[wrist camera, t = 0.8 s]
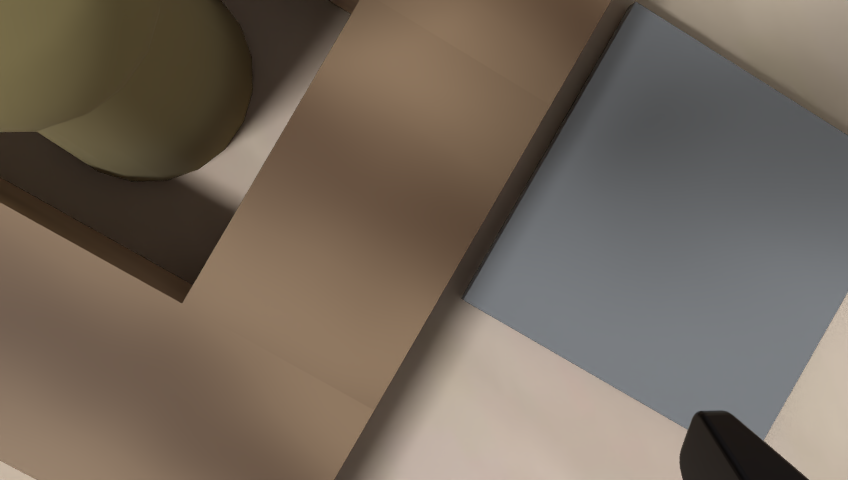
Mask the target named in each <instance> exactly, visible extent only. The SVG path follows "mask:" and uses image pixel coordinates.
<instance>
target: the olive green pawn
mask: <svg viewBox="0 0 848 480" xmlns="http://www.w3.org/2000/svg"><path fill="white" fill-rule="evenodd" d="M252 91H253V84H252V57H251V54H250V51H249V49H248V46H247V43H246V40H245V38H244V35H243V32H242V29H241V27H240V25H239V23H238V22H237V21H236V19H235V18H234V17H233V16H232V14H231V13H230V12H229V10H228V9H227V8H226V7H225V5H224V4H223V3H222V1H221V0H0V132H38V133H40V134H41V135H43V136H44V137H46V138H47V139H49V140H50V141H52V142H53V143H55V144H57V145H58V146H60V147H61V148H63V149H64V150H66V151H67V152H69V153H71V154H72V155H74V156H75V157H77V158H78V159H80V160H81V161H83V162H84V163H86V164H88V165H89V166H91V167H92V168H94V169H95V170H97V171H98V172H101V173H105V174H108V175H112V176H115V177H119V178H122V179H126V180H129V181H164V180H169V179H172V178H175V177H178V176H180V175H183V174H186V173H189V172H192V171H195V170H198V169H199V168H201V167H202V166H203V165H205V164H206V163H207V162H208V161H210V160H211V159H212V158H214V157H215V156H216V155H218V154H219V153H220V152H222V151H223V150H224V149H225V148H226V147H227V145H228V144H229V142H230V141H231V139H232V138H233V136H234V135H235V134H236V132H237V131H238V129H239V128H240V126H241V125H242V123H243V122H244V118H245V115H246V112H247V108H248V105H249V101H250V98H251V94H252Z"/></svg>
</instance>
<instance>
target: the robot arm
mask: <svg viewBox="0 0 848 480" xmlns="http://www.w3.org/2000/svg"><path fill="white" fill-rule="evenodd" d="M680 470H681V474H682V479H683V480H809V479H808V478H806V477H805V476H804V475H803V474H802V473H801V472H799V471H798V470H797V469H796V468H795V467H794V466H792V465H791V464H790V463H789V462H788V461H787V460H785V459H784V458H783V457H782V456H781V455H780V454H778V453H777V452H776V451H775V450H774V449H773V448H771V447H770V446H769V445H768V444H767V443H766V442H764V441H763V440H762V439H761V438H760V437H758V436H757V435H756V434H755V433H754V432H753V431H751V430H750V429H749V428H748V427H747V426H746V425H744V424H743V423H742V422H741V421H740V420H739V419H737V418H736V417H735V416H734V415H733V414H731V413H729V412H727V411H723V410H713V411H698V412H697V413H695V414H694V415H693V417H692V420H691V422H690V425H689V428H688V431H687V434H686V437H685V440H684V442H683V445H682V448H681V452H680Z"/></svg>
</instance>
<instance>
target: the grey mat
mask: <svg viewBox="0 0 848 480" xmlns="http://www.w3.org/2000/svg"><path fill="white" fill-rule="evenodd" d="M847 292H848V135H846V134H845V133H843V132H842V131H840V130H838V129H837V128H835V127H834V126H832V125H830V124H829V123H827V122H826V121H824V120H823V119H821V118H819V117H818V116H816V115H815V114H813V113H811V112H810V111H808V110H807V109H805V108H803V107H802V106H800V105H799V104H797V103H796V102H794V101H792V100H791V99H789V98H788V97H786V96H784V95H783V94H781V93H780V92H778V91H777V90H775V89H773V88H772V87H770V86H769V85H767V84H765V83H764V82H762V81H761V80H759V79H758V78H756V77H754V76H753V75H751V74H750V73H748V72H746V71H745V70H743V69H742V68H740V67H739V66H737V65H735V64H734V63H732V62H731V61H729V60H727V59H726V58H724V57H723V56H721V55H720V54H718V53H716V52H715V51H713V50H712V49H710V48H708V47H707V46H705V45H704V44H702V43H701V42H699V41H697V40H696V39H694V38H693V37H691V36H689V35H688V34H686V33H685V32H683V31H682V30H680V29H678V28H677V27H675V26H674V25H672V24H670V23H669V22H667V21H666V20H664V19H662V18H661V17H659V16H658V15H656V14H655V13H653V12H651V11H650V10H648V9H647V8H645V7H643V6H642V5H640V4H639V3H637V2H635V3H633V4H632V5H631V6H630V7H629V9H628V10H627V12H626V14H625V15H624V17H623V19H622V21H621V22H620V24H619V26H618V28H617V29H616V31H615V33H614V34H613V36H612V38H611V40H610V41H609V43H608V45H607V47H606V48H605V50H604V52H603V54H602V55H601V57H600V59H599V60H598V62H597V64H596V66H595V67H594V69H593V71H592V73H591V74H590V76H589V78H588V79H587V81H586V83H585V85H584V86H583V88H582V90H581V92H580V93H579V95H578V97H577V99H576V100H575V102H574V104H573V105H572V107H571V109H570V111H569V112H568V114H567V116H566V118H565V119H564V121H563V123H562V124H561V126H560V128H559V130H558V131H557V133H556V135H555V137H554V138H553V140H552V142H551V143H550V145H549V147H548V149H547V150H546V152H545V154H544V156H543V157H542V159H541V161H540V163H539V164H538V166H537V168H536V169H535V171H534V173H533V175H532V176H531V178H530V180H529V182H528V183H527V185H526V187H525V188H524V190H523V192H522V194H521V195H520V197H519V199H518V201H517V202H516V204H515V206H514V208H513V209H512V211H511V213H510V214H509V216H508V218H507V220H506V221H505V223H504V225H503V227H502V228H501V230H500V232H499V233H498V235H497V237H496V239H495V240H494V242H493V244H492V246H491V247H490V249H489V251H488V253H487V254H486V256H485V258H484V259H483V261H482V263H481V265H480V266H479V268H478V270H477V272H476V273H475V275H474V277H473V278H472V280H471V282H470V284H469V285H468V287H467V289H466V291H465V292H464V294H463V296H462V298H461V299H462V300H464V301H466V302H467V303H469V304H471V305H473V306H474V307H476V308H478V309H480V310H481V311H483V312H485V313H486V314H488V315H490V316H492V317H493V318H495V319H497V320H499V321H500V322H502V323H504V324H506V325H507V326H509V327H511V328H512V329H514V330H516V331H518V332H519V333H521V334H523V335H525V336H526V337H528V338H530V339H532V340H533V341H535V342H537V343H538V344H540V345H542V346H544V347H545V348H547V349H549V350H551V351H552V352H554V353H556V354H558V355H559V356H561V357H563V358H564V359H566V360H568V361H570V362H571V363H573V364H575V365H577V366H578V367H580V368H582V369H584V370H585V371H587V372H589V373H590V374H592V375H594V376H596V377H597V378H599V379H601V380H603V381H604V382H606V383H608V384H610V385H611V386H613V387H615V388H616V389H618V390H620V391H622V392H623V393H625V394H627V395H629V396H630V397H632V398H634V399H636V400H637V401H639V402H641V403H642V404H644V405H646V406H648V407H649V408H651V409H653V410H655V411H656V412H658V413H660V414H662V415H663V416H665V417H667V418H668V419H670V420H672V421H674V422H675V423H677V424H679V425H681V426H682V427H684V428H686V429H688V428H689V425H690V422H691V420H692V417H693V415H694V414H695V413H697V412H698V411H713V410H723V411H727V412H729V413H731V414H733V415H734V416H735V417H736V418H737V419H739V420H740V421H741V422H742V423H743V424H744V425H746V426H747V427H748V428H749V429H750V430H751V431H753V432H754V433H755V434H756V435H757V436H758V437H760V438H761V439H762V440H764V439H765V437H766V435H767V433H768V431H769V430H770V428H771V426H772V424H773V423H774V421H775V419H776V417H777V416H778V414H779V412H780V410H781V409H782V407H783V405H784V403H785V402H786V400H787V398H788V396H789V394H790V393H791V391H792V389H793V387H794V386H795V384H796V382H797V380H798V379H799V377H800V375H801V373H802V372H803V370H804V368H805V366H806V365H807V363H808V361H809V359H810V358H811V356H812V354H813V352H814V350H815V349H816V347H817V345H818V343H819V342H820V340H821V338H822V336H823V335H824V333H825V331H826V329H827V328H828V326H829V324H830V322H831V321H832V319H833V317H834V315H835V313H836V312H837V310H838V308H839V306H840V305H841V303H842V301H843V299H844V298H845V296H846V294H847Z"/></svg>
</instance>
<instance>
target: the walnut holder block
mask: <svg viewBox="0 0 848 480" xmlns="http://www.w3.org/2000/svg"><path fill="white" fill-rule="evenodd" d="M329 1H330V2H332V3H334V4H335V5H337V6H339V7H340V8H342V9H344V10H345V11H347V12H348V13H350V14H351V16H350V17H349V19H348V21H347V23H346V24H345V26H344V28H343V29H342V31H341V33H340V35H339V36H338V38H337V40H336V41H335V43H334V45H333V47H332V48H331V50H330V52H329V53H328V55H327V57H326V58H325V60H324V62H323V64H322V65H321V67H320V69H319V70H318V72H317V74H316V76H315V77H314V79H313V81H312V82H311V84H310V86H309V88H308V89H307V91H306V93H305V94H304V96H303V98H302V99H301V101H300V103H299V105H298V106H297V108H296V110H295V111H294V113H293V115H292V117H291V118H290V120H289V122H288V123H287V125H286V127H285V129H284V130H283V132H282V134H281V135H280V137H279V139H278V141H277V142H276V144H275V146H274V147H273V149H272V151H271V152H270V154H269V156H268V158H267V159H266V161H265V163H264V164H263V166H262V168H261V170H260V171H259V173H258V175H257V176H256V178H255V180H254V182H253V183H252V185H251V187H250V188H249V190H248V192H247V194H246V195H245V197H244V199H243V200H242V202H241V204H240V205H239V207H238V209H237V211H236V212H235V214H234V216H233V217H232V219H231V221H230V223H229V224H228V226H227V228H226V229H225V231H224V233H223V235H222V236H221V238H220V240H219V241H218V243H217V245H216V246H215V248H214V250H213V252H212V253H211V255H210V257H209V258H208V260H207V262H206V264H205V265H204V267H203V269H202V270H201V272H200V274H199V276H198V277H197V279H196V281H195V282H194V284H193V285H192V284H190V283H188V282H186V281H185V280H183V279H181V278H179V277H177V276H176V275H174V274H172V273H170V272H168V271H167V270H165V269H163V268H161V267H159V266H158V265H156V264H154V263H152V262H150V261H149V260H147V259H145V258H143V257H142V256H140V255H138V254H136V253H134V252H133V251H131V250H129V249H127V248H125V247H124V246H122V245H120V244H118V243H116V242H115V241H113V240H111V239H109V238H108V237H106V236H104V235H102V234H100V233H99V232H97V231H95V230H93V229H91V228H90V227H88V226H86V225H84V224H82V223H81V222H79V221H77V220H75V219H74V218H72V217H70V216H68V215H66V214H65V213H63V212H61V211H59V210H57V209H56V208H54V207H52V206H50V205H48V204H47V203H45V202H43V201H41V200H40V199H38V198H36V197H34V196H32V195H31V194H29V193H27V192H25V191H23V190H22V189H20V188H18V187H16V186H14V185H13V184H11V183H9V182H7V181H6V180H4V179H2V178H0V461H2V462H4V463H6V464H8V465H10V466H12V467H13V468H15V469H17V470H19V471H21V472H23V473H25V474H27V475H29V476H31V477H33V478H34V479H36V480H334V479H335V477H336V475H337V474H338V472H339V470H340V469H341V467H342V465H343V463H344V462H345V460H346V458H347V456H348V455H349V453H350V451H351V450H352V448H353V446H354V444H355V443H356V441H357V439H358V437H359V436H360V434H361V432H362V431H363V429H364V427H365V425H366V424H367V422H368V420H369V418H370V417H371V415H372V413H373V412H374V410H375V408H376V406H377V405H378V403H379V401H380V399H381V398H382V396H383V394H384V393H385V391H386V389H387V387H388V386H389V384H390V382H391V380H392V379H393V377H394V375H395V373H396V372H397V370H398V368H399V367H400V365H401V363H402V361H403V360H404V358H405V356H406V354H407V353H408V351H409V349H410V348H411V346H412V344H413V342H414V341H415V339H416V337H417V335H418V334H419V332H420V330H421V329H422V327H423V325H424V323H425V322H426V320H427V318H428V316H429V315H430V313H431V311H432V310H433V308H434V306H435V304H436V303H437V301H438V299H439V297H440V296H441V294H442V292H443V291H444V289H445V287H446V285H447V284H448V282H449V280H450V278H451V277H452V275H453V273H454V271H455V270H456V268H457V266H458V265H459V263H460V261H461V259H462V258H463V256H464V254H465V252H466V251H467V249H468V247H469V246H470V244H471V242H472V240H473V239H474V237H475V235H476V233H477V232H478V230H479V228H480V227H481V225H482V223H483V221H484V220H485V218H486V216H487V214H488V213H489V211H490V209H491V208H492V206H493V204H494V202H495V201H496V199H497V197H498V195H499V194H500V192H501V190H502V189H503V187H504V185H505V183H506V182H507V180H508V178H509V176H510V175H511V173H512V171H513V169H514V168H515V166H516V164H517V163H518V161H519V159H520V157H521V156H522V154H523V152H524V150H525V149H526V147H527V145H528V144H529V142H530V140H531V138H532V137H533V135H534V133H535V131H536V130H537V128H538V126H539V125H540V123H541V121H542V119H543V118H544V116H545V114H546V112H547V111H548V109H549V107H550V106H551V104H552V102H553V100H554V99H555V97H556V95H557V93H558V92H559V90H560V88H561V87H562V85H563V83H564V81H565V80H566V78H567V76H568V74H569V73H570V71H571V69H572V68H573V66H574V64H575V62H576V61H577V59H578V57H579V55H580V54H581V52H582V50H583V48H584V47H585V45H586V43H587V42H588V40H589V38H590V36H591V35H592V33H593V31H594V29H595V28H596V26H597V24H598V23H599V21H600V19H601V17H602V16H603V14H604V12H605V10H606V9H607V7H608V5H609V4H610V2H611V0H329Z"/></svg>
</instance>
